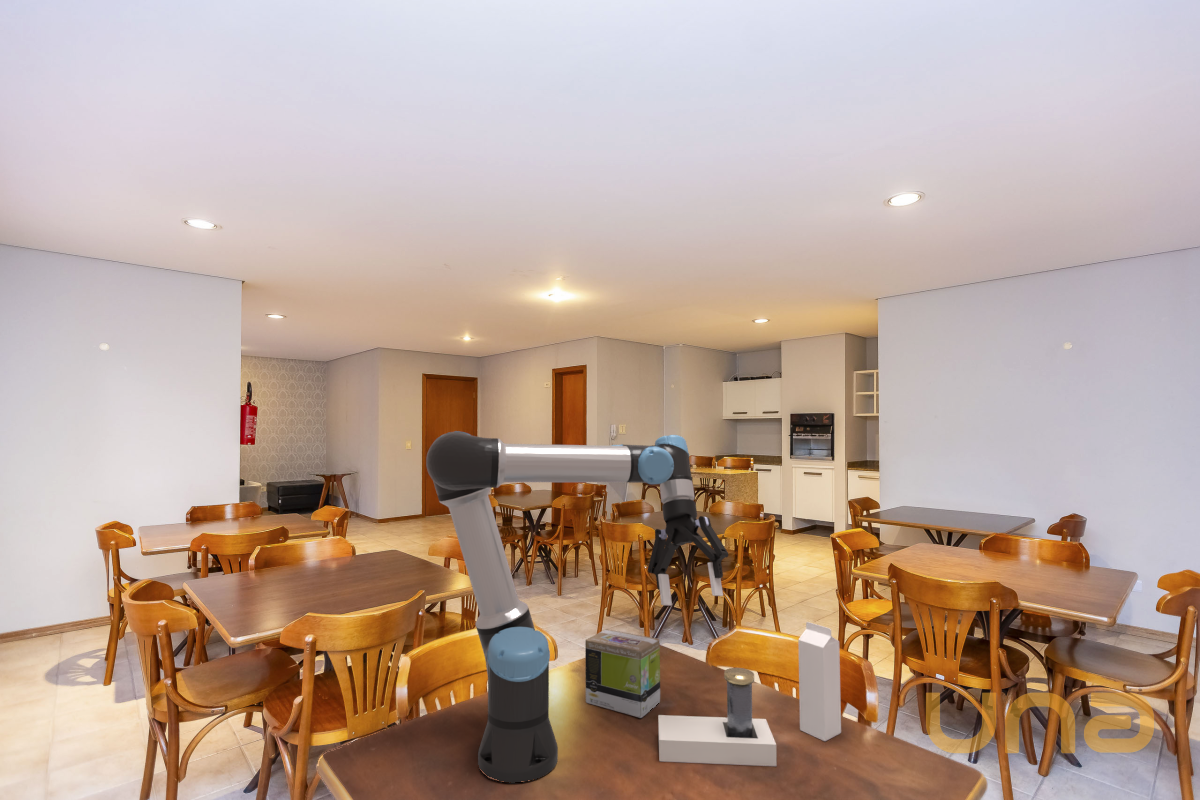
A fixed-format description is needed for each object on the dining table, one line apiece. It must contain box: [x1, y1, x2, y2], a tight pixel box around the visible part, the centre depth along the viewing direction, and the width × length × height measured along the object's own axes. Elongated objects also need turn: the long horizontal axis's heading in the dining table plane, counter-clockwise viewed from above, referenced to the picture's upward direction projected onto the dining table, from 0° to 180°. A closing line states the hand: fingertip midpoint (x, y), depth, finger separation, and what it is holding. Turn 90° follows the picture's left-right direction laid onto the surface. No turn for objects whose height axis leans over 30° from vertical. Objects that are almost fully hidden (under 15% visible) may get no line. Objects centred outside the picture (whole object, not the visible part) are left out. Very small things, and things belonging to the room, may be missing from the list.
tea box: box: [584, 628, 661, 719], centre depth 139 cm, size 15×10×15 cm, turn 58°
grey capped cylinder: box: [723, 667, 755, 738], centre depth 118 cm, size 6×6×15 cm
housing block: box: [657, 714, 778, 767], centre depth 119 cm, size 22×10×4 cm, turn 85°
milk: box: [798, 621, 842, 742], centre depth 126 cm, size 6×6×22 cm
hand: (691, 600), depth 126 cm, fingers open, 13 cm apart
